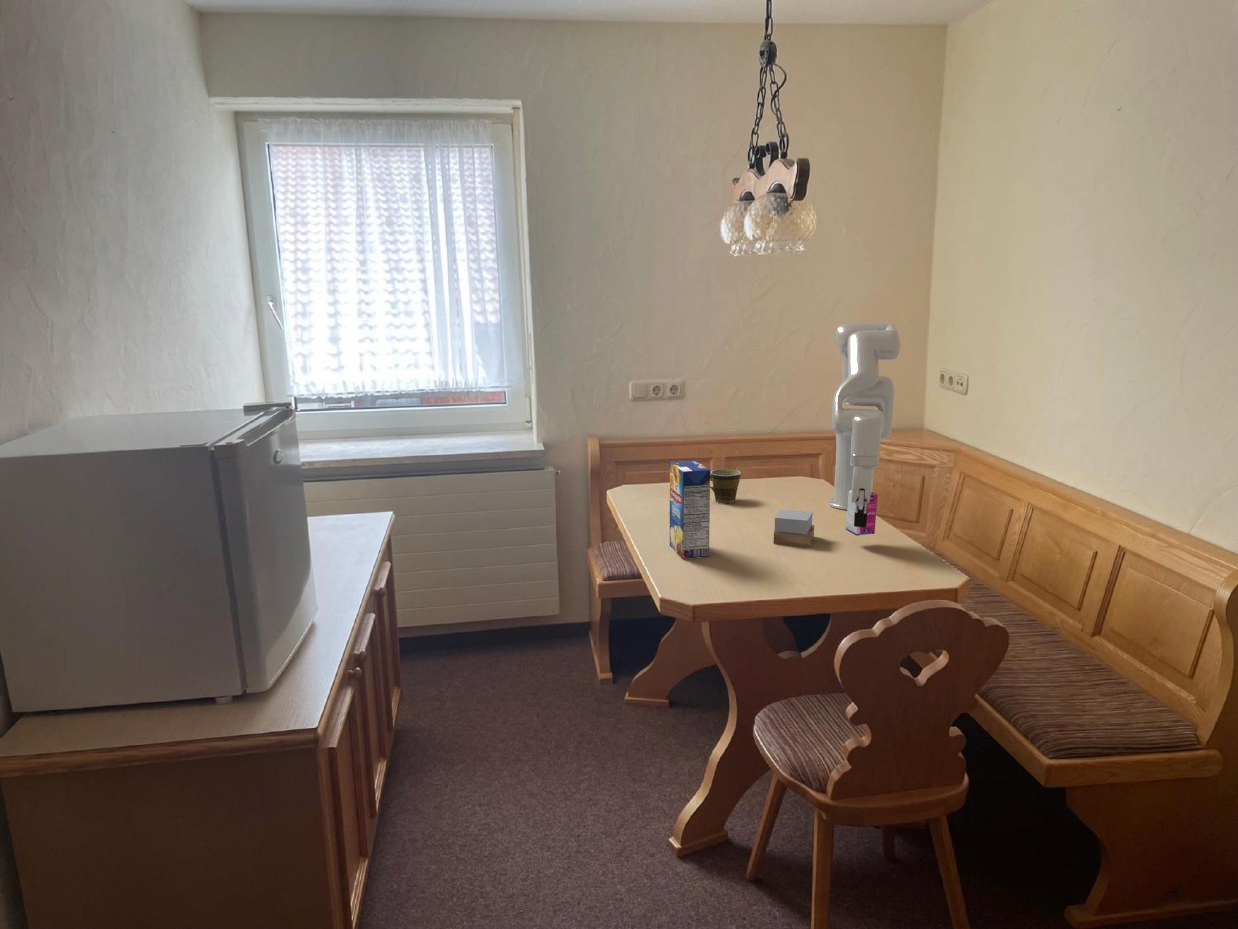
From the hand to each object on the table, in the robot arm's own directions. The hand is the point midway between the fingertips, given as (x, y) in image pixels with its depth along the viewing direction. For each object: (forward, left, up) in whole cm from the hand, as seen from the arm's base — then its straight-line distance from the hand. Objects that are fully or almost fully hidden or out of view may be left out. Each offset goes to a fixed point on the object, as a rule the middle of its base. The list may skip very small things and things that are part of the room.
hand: (861, 521), depth 219 cm
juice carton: (+19, -44, -7) cm, 48 cm away
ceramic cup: (-34, -47, -7) cm, 59 cm away
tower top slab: (+1, -18, -4) cm, 19 cm away
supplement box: (0, 0, -3) cm, 3 cm away
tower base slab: (0, -18, -8) cm, 19 cm away
